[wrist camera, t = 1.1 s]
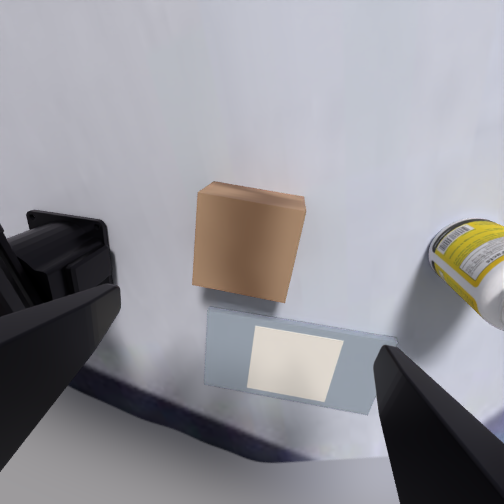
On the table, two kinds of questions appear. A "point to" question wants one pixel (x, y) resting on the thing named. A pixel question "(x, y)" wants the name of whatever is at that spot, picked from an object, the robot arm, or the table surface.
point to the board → (292, 359)
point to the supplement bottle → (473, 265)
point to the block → (246, 240)
